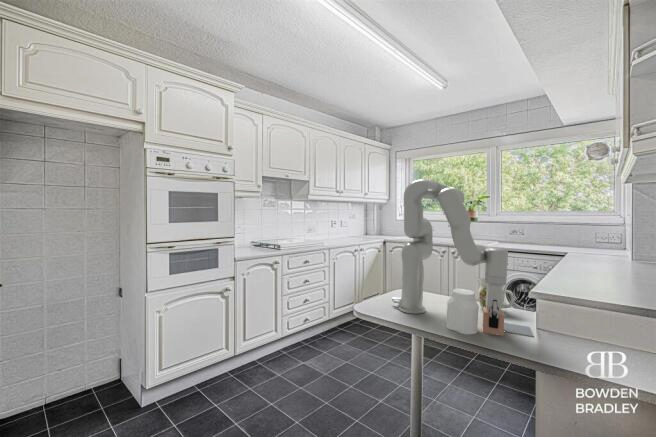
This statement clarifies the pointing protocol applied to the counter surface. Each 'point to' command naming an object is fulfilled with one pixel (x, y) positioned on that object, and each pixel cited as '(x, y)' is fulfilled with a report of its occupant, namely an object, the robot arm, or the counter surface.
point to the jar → (462, 312)
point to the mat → (518, 329)
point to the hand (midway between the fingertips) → (492, 323)
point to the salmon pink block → (486, 322)
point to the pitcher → (483, 291)
